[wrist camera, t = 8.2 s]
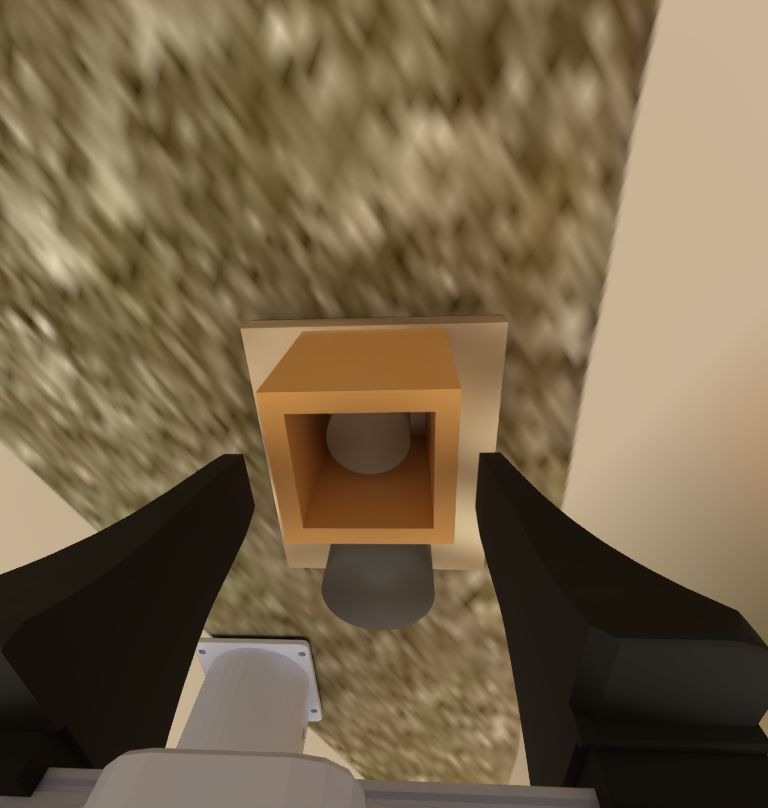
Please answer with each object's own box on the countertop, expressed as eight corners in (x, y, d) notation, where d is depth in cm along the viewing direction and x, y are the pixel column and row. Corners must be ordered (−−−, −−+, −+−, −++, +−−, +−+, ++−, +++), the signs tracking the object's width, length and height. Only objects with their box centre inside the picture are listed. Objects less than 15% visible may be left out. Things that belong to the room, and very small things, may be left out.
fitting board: (479, 553, 24) (498, 639, 19) (293, 551, 24) (267, 634, 20) (502, 314, 17) (537, 357, 13) (250, 320, 18) (196, 363, 13)
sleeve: (443, 327, 17) (461, 389, 11) (440, 447, 19) (454, 544, 14) (302, 331, 17) (255, 392, 12) (318, 448, 20) (285, 543, 14)
